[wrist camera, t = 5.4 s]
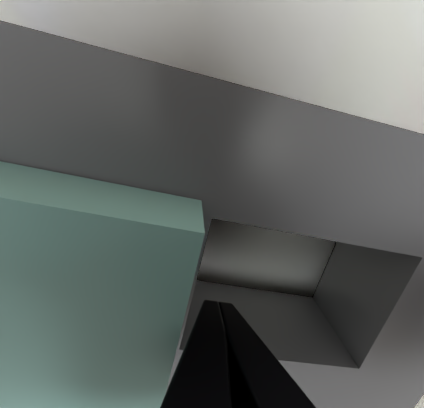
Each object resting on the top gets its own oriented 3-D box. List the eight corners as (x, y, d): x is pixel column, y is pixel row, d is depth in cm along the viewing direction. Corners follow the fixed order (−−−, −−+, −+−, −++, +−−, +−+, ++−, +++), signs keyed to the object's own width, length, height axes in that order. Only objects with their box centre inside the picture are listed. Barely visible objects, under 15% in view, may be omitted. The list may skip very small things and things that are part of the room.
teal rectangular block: (201, 200, 7) (204, 233, 5) (164, 361, 9) (156, 429, 7) (-96, 142, 6) (-233, 156, 4) (-65, 338, 8) (-148, 412, 6)
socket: (450, 154, 11) (578, 175, 8) (345, 352, 15) (396, 431, 11) (15, 42, 9) (-119, -12, 5) (19, 315, 12) (-55, 401, 9)
